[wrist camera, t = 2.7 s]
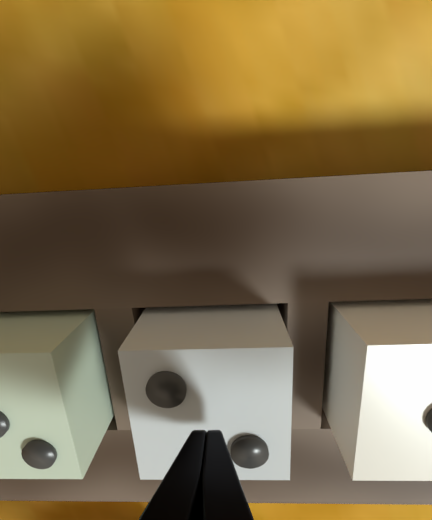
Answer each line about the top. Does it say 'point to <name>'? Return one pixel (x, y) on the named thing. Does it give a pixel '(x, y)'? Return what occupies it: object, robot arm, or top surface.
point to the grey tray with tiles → (221, 295)
